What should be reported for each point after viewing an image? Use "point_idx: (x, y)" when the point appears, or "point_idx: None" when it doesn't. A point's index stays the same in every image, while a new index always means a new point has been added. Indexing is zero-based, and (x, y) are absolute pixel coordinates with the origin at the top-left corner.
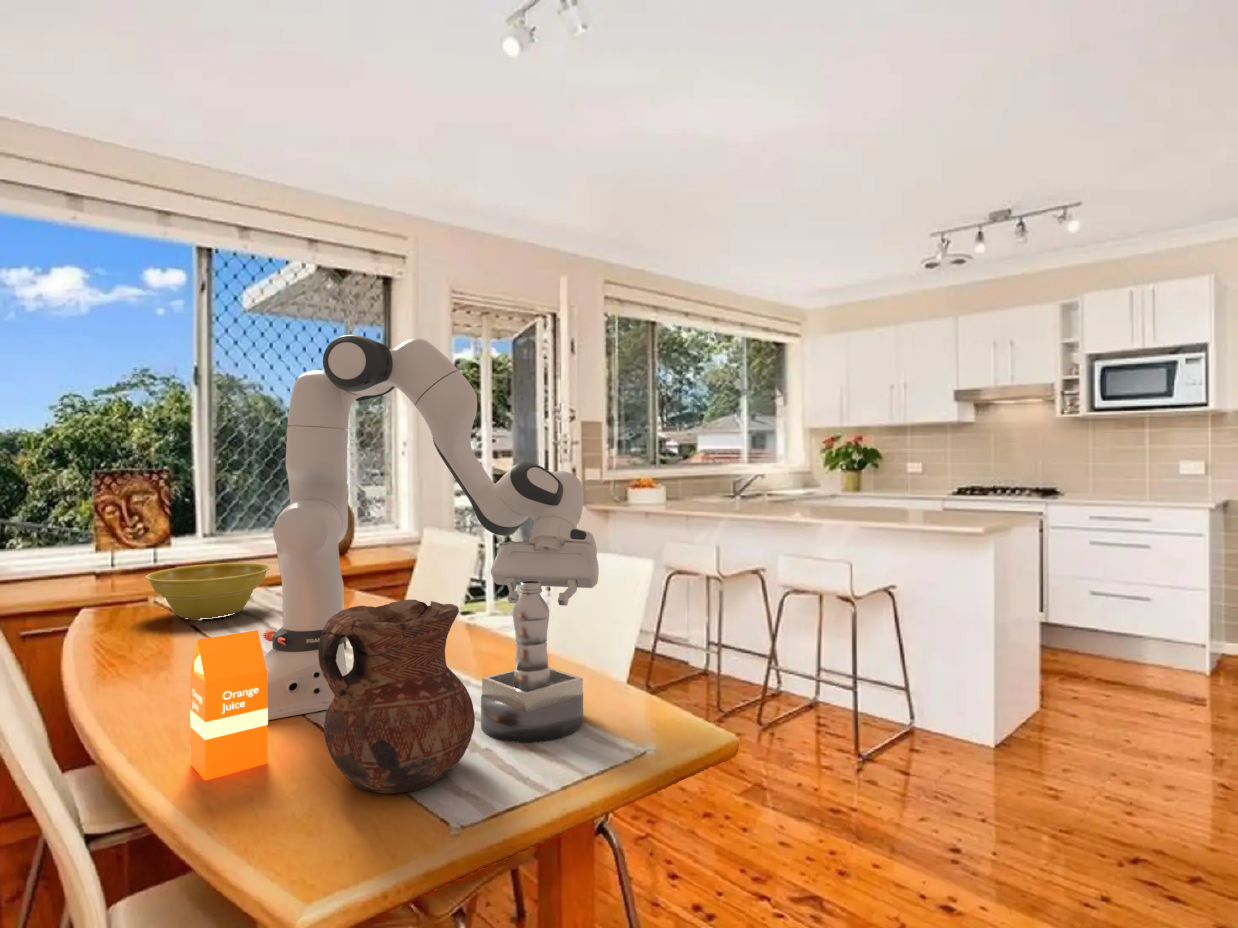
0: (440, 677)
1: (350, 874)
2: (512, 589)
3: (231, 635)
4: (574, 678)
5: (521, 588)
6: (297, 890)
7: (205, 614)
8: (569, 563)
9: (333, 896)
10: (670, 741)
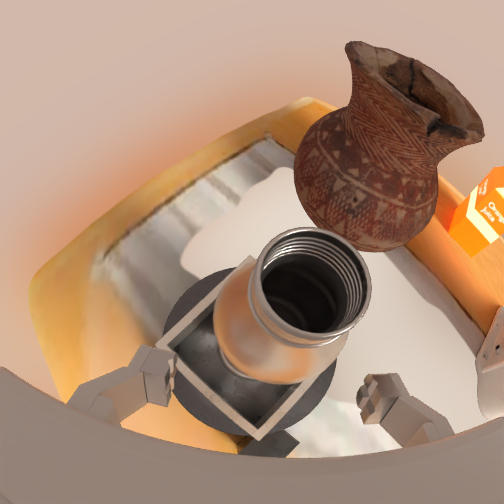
0: (338, 116)
1: (308, 112)
2: (403, 399)
3: None
4: (170, 349)
5: (346, 262)
6: (325, 108)
7: None
8: (57, 499)
9: (306, 103)
10: (74, 284)
